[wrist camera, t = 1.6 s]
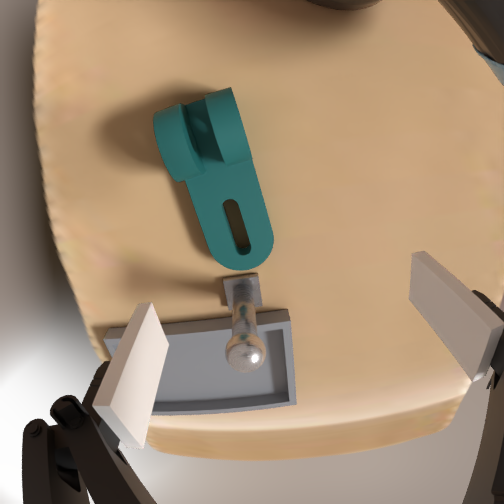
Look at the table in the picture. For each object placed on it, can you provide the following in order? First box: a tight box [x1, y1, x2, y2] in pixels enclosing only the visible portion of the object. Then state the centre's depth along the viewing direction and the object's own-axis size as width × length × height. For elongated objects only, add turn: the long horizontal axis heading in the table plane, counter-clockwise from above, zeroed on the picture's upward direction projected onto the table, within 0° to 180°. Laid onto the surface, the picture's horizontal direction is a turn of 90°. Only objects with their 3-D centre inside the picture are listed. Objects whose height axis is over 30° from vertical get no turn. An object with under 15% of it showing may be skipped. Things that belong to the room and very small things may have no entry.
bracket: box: [153, 87, 274, 270], centre depth 28 cm, size 18×7×8 cm, turn 16°
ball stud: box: [223, 273, 266, 373], centre depth 30 cm, size 4×4×13 cm
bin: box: [103, 309, 297, 415], centre depth 40 cm, size 16×24×2 cm, turn 98°
